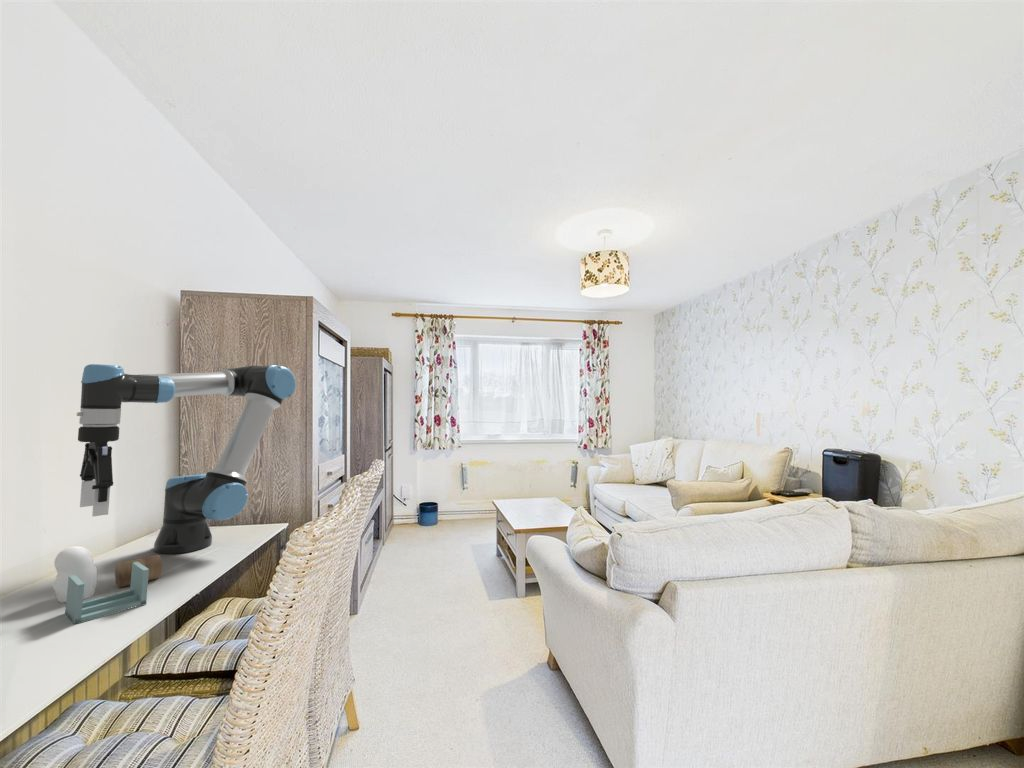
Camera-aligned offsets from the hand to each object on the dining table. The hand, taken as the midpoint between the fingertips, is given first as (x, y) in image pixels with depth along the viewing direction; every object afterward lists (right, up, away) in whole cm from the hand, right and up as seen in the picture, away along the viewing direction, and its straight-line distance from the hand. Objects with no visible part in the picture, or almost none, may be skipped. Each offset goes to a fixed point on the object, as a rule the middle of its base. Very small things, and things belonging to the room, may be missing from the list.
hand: (93, 510), depth 109 cm
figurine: (0, -19, -5) cm, 20 cm away
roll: (+7, -17, +5) cm, 19 cm away
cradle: (+13, -19, -10) cm, 25 cm away
